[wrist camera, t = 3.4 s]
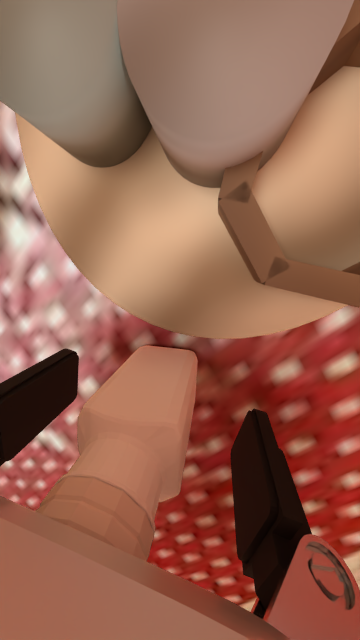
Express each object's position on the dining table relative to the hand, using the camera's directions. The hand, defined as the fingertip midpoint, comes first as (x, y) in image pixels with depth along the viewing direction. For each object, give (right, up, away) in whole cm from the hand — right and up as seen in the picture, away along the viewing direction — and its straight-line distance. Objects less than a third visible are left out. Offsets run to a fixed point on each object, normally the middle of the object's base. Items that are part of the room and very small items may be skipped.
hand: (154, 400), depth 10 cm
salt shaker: (+1, +1, +3) cm, 3 cm away
